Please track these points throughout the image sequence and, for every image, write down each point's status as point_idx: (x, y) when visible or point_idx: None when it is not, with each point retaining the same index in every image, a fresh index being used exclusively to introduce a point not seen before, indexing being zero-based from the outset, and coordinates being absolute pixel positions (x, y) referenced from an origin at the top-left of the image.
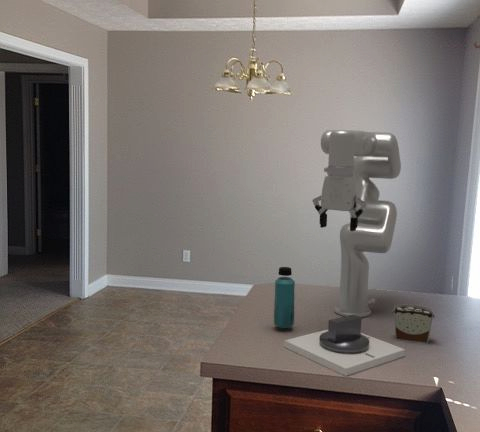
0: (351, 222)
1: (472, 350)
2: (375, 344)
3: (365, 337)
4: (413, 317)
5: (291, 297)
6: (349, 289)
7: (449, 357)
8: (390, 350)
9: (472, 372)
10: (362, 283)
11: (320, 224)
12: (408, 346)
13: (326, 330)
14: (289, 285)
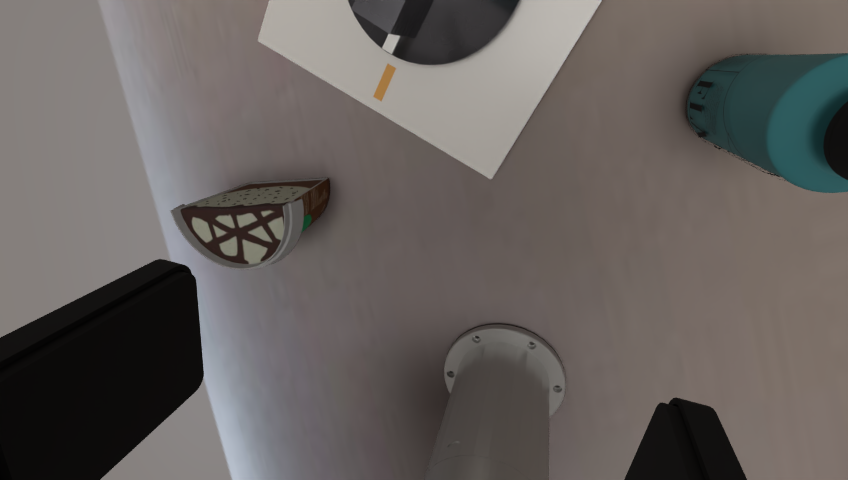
0: (51, 322)
1: (155, 182)
2: (343, 36)
3: (367, 26)
4: (241, 201)
5: (746, 89)
6: (499, 398)
7: (179, 100)
8: (289, 3)
9: (108, 15)
10: (447, 424)
11: (727, 440)
12: (284, 135)
13: (534, 97)
14: (797, 77)
